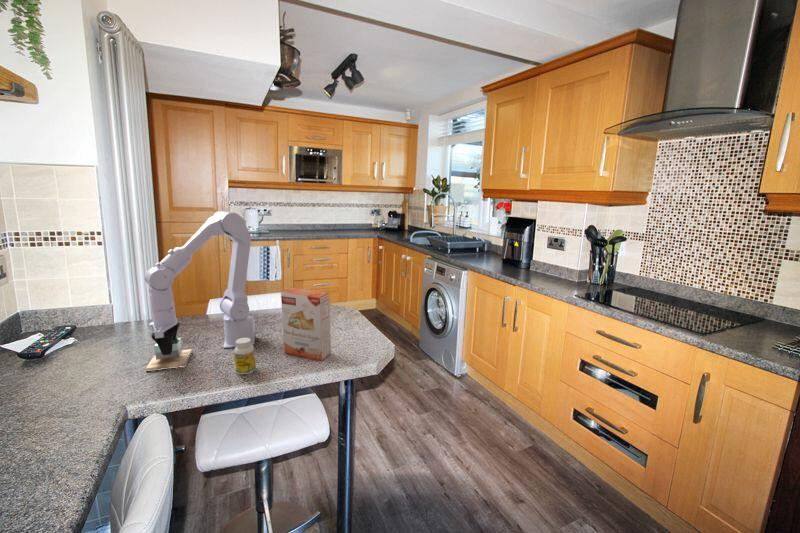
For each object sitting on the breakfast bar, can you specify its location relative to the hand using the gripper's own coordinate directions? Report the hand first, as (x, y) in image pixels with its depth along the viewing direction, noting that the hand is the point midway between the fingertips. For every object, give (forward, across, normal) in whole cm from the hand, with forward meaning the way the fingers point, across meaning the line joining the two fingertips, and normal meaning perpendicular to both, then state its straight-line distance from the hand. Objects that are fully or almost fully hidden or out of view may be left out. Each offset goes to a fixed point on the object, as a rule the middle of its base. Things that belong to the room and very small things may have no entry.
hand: (169, 350), depth 114 cm
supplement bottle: (+4, +12, +22) cm, 25 cm away
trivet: (+4, 0, 0) cm, 4 cm away
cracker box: (+4, +6, +40) cm, 41 cm away
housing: (+1, 0, 0) cm, 1 cm away
